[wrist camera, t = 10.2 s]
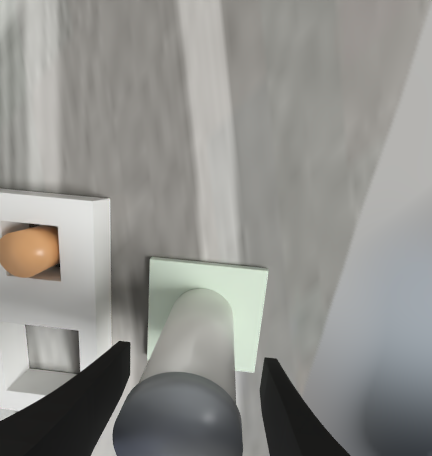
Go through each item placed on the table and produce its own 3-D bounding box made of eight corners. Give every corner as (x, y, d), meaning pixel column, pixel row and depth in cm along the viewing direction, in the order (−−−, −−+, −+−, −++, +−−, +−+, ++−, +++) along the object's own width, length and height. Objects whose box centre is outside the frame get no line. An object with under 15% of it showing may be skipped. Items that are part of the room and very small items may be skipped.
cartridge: (196, 358, 17) (167, 511, 9) (154, 309, 16) (86, 429, 8) (249, 325, 16) (269, 461, 8) (208, 272, 15) (187, 367, 8)
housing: (112, 395, 19) (98, 420, 17) (17, 383, 19) (-8, 407, 17) (110, 198, 15) (92, 201, 13) (-6, 187, 16) (-39, 188, 14)
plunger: (70, 266, 16) (44, 280, 14) (31, 262, 16) (-1, 275, 14) (68, 226, 15) (41, 234, 13) (28, 222, 15) (-6, 230, 13)
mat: (253, 367, 17) (254, 372, 17) (149, 355, 18) (147, 360, 17) (267, 268, 16) (268, 271, 15) (152, 256, 16) (150, 259, 16)
